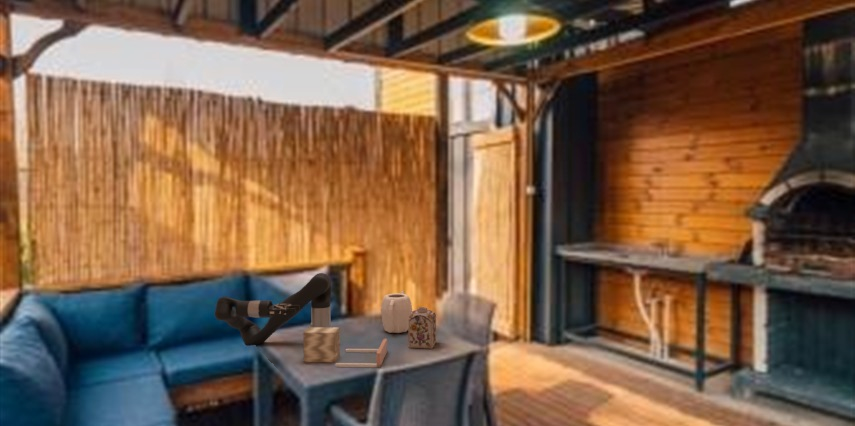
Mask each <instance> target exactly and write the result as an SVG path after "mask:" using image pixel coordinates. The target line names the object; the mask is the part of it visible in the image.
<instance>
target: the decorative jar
mask: <svg viewBox="0 0 855 426" xmlns="http://www.w3.org/2000/svg"><path fill="white" fill-rule="evenodd" d="M408 320H409V325H408V330H407V331H408V348H411V349H434V346H435V344H436V343H437V315H436V312H435V311H433V310H430V309H428V307H427V306H420V307H417V310H412V312H411V313H410V316H409V319H408Z"/></svg>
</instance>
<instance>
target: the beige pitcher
mask: <svg viewBox="0 0 855 426" xmlns="http://www.w3.org/2000/svg"><path fill="white" fill-rule="evenodd" d="M380 306H381V307H380V313H381V320H382V322H381V323H382V326H383V329H384V331H385V332H387V333H390V334H391V333H392V334H401V333H406V332H407V331H408V325H409V320H408V319H409V316H410V313H411V312H412V311H413V307H412V301H411V298H410V295H408V294H406V293H405V290H401V293H399V292H398V293H396V292H395V293H388V294H386V295H384V296H383V298H382V302H381V305H380Z"/></svg>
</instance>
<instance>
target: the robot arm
mask: <svg viewBox="0 0 855 426" xmlns="http://www.w3.org/2000/svg"><path fill="white" fill-rule="evenodd" d="M331 292H332V282H331V278H330V276H329V275H327V273H324V272H318V273H316V274H315V275H314V276H313V277H312V278H311V279H310V280H309V281H308V282H307V283H305V285H304V286H303V287H302V288H300V290H298V291H297V292H296V293H294V294H291V295H289V296H288V297H287V298H285V299H284V300H282V301H281V302H279V303H276V304H273V301H272V300H260V299H259V300H258V299H257V300H241V299H235V298H232V297H229V296H221V297H220V298H218V299H217V301H216V307H215V310H214V317H215V318H216V319H217V320H218V321H222V322H225V323H227V324H228V325H229V326H230V327H231V328H232V329H237V330H238V331H239V332H240V336H241V337H240V338H241V339H242V341H243V343H244V345H245V346H246V347H248V346H256V345H260V344H263V343H265V342H266V341H267V340H268V339H269V338H270V337H271V336H272V335H273V334H274V333H276V331H278V330H279V329H280V328H281V327H283V326H284V325H285V324H286V323H288V322H289V321H290V320H292V319H293V318H295V316H296V315H298V314H299V313H300V311H302V310H303V309H304V308H305V307H306V305H308V304H309V303H310V307H311V308H310V310H311V311H310V312H311V313H310V314H311V322H310V326H309V327H332V325H331V324H332V323H331V320H332V319H331V300H332V299H331V298H332V293H331ZM234 307H235V308H234ZM248 318H256V319H257V318H260V319H263V318H264V319H267V318H268V320H267V322H266V324H265V325H264V327H262V329H261V328H260V326H259V325H258V324H256V323H254V322H253V321H251V320H249V319H248Z"/></svg>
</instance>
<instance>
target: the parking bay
mask: <svg viewBox="0 0 855 426" xmlns="http://www.w3.org/2000/svg"><path fill="white" fill-rule="evenodd" d="M345 353H372V354H373V353H376V357H375V358H376V363H375V362H374V363H369V362H365V363H361V362H348V363H347V362H335V368H381V366H382V364H383V362H384V360H385V358H386V355H387V353H388V338H383V339H382V342H381V344H380V346H379V347H378V348H346V349H345Z"/></svg>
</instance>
